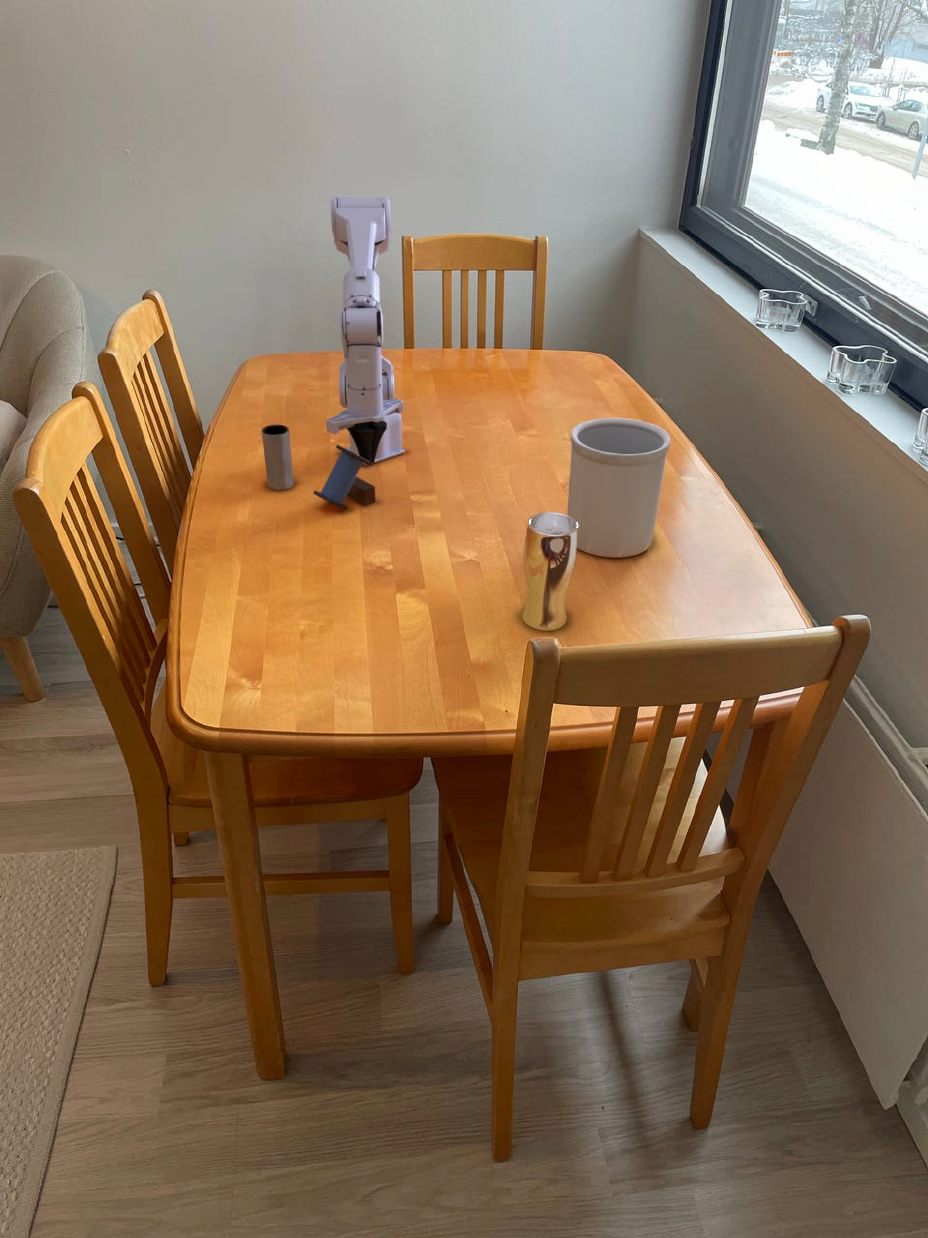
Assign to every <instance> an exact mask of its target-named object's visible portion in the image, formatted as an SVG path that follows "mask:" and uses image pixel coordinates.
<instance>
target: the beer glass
mask: <svg viewBox="0 0 928 1238" xmlns="http://www.w3.org/2000/svg"><path fill="white" fill-rule="evenodd" d="M577 540H578V523H577V522H576V520H575V519H573V518H572V517H570V516H568V515H567V514H566V513H562V512H555V511H544V512H539V513H536V514H533V515H532V516H531V517H529V518H528V521H527V527H526V533H525V539H524V546H523V547H524V548H523V550H524V551H523V566H524V574H525V575H524V576H525V582H526V602H525V604H524V609H523V611H522V620H523V622H524V623H525V624H526V625H527V626H528V627H530V628H532V629H535V630H537V631H542V632H543V631H544V632H549V631H550V632H551V631H555V630H559V629H561V628H562V627H564V626H565V625H566V623H567V619H568V618H567V607H566V606H567V605H566V598H567V593H568V590H569V587H570V584H571V581H572V577H573V575H574V572H575V571H574V570H575V566H576V563H577V562H576V561H577V554H578V548H577Z"/></svg>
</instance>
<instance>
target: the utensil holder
mask: <svg viewBox="0 0 928 1238" xmlns="http://www.w3.org/2000/svg"><path fill="white" fill-rule="evenodd" d="M570 445H571V452H570V465H569V466H570V469H569V480H568V495H567V511H566V512H567V513H566V515H568V516H570V517H572V518H573V519H575V520H576V522H577V523H578V540H577V550H580V551H582V552H584V553H587V554H589V555H593V556H597V557H603V558H611V559H613V558H614V559H615V558H616V559H617V558H620V559H621V558H628V557H634V556H637V555H640V554H642V553H644V552H645V551H647V550H648V549H649V548H650V547H651V546H652V543H653V538H654V534H655V529H656V523H657V516H658V511H659V504H660V497H661V492H662V487H663V486H662V484H663V481H664V480H663V479H664V474H665V469H666V468H665V467H666V460H667V454H668V452H669V450H670V446H671V437H670V435H669V433H668V432H667V431H666V430H665V429H664V428H662V427H660V426H658V425H656V424H653V423H650V422H648V421H644V420H640V419H635V418H634V419H633V418H624V417H604V418H594V419H589V420H586V421H584V422H580V423H578V424H577V425H575V426H574V427H573V428H572V429H571V433H570Z"/></svg>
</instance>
